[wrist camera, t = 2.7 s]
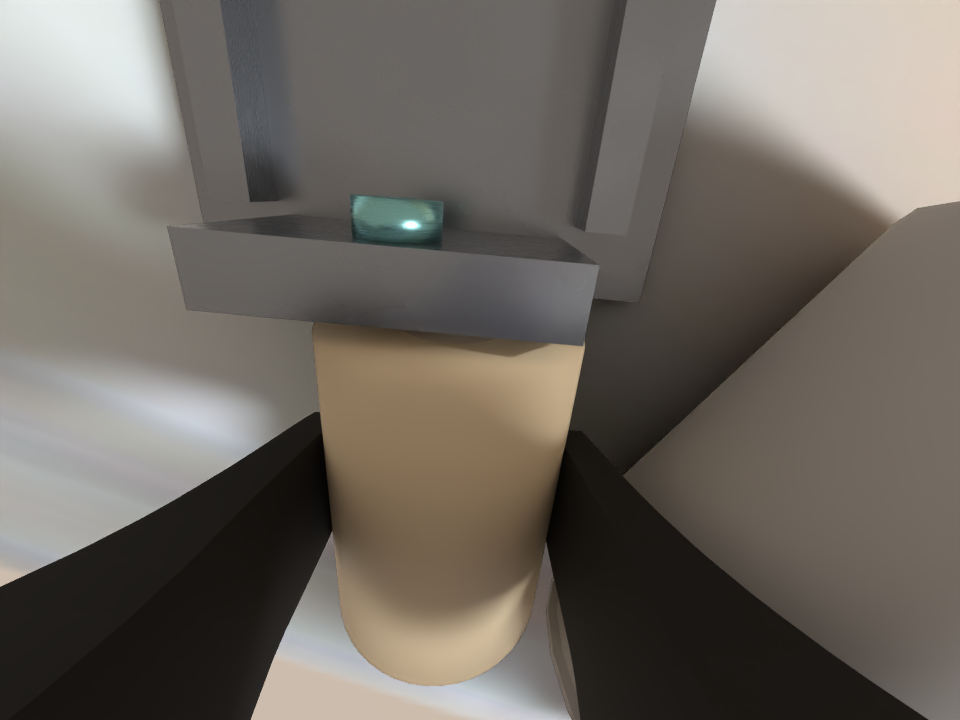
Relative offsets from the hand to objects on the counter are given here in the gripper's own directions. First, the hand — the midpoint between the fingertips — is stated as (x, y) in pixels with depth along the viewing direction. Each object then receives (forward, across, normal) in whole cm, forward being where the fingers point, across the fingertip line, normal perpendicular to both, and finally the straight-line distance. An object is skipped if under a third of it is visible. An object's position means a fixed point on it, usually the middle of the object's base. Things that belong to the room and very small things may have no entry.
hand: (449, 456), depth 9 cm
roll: (+2, +1, 0) cm, 2 cm away
